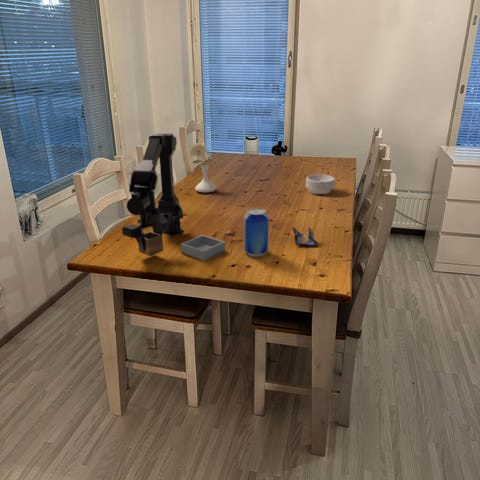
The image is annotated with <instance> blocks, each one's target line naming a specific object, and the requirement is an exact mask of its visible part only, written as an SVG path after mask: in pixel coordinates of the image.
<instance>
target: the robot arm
mask: <svg viewBox="0 0 480 480" xmlns="http://www.w3.org/2000/svg"><path fill="white" fill-rule="evenodd" d="M177 143H178V141H177V137H176V136H174V134H173V133H152V134H150V135H149V136H148V144H147V146H146V150H145V152H144V155H143V158H142V160H141V162H140V163H137V165H136V166H135V168H134V169H133V172H132V173H131V177H130V182H129V183H130V184H129V190H128V192H129V193H132V194H131V198H129V199H128V201H127V202H126V210H127V211H128V212H129V214H131V215H133V216H139V218H138V219H137V223H138V224H139V225H136V224H134V223H130V224H127V225H125V226H122V227H121V233H122V236H126V237H129V238H130V239H131V238H132V239H135V240H136V242H137V245H138V244H139V245H140V247H141V249H142V250H143V251H145V236H146V234H145V231H144V230H146V229H150V228H152V232H155V233H158V234H161V235H162V236H163V234H166V235H170V236H174V235H176V234H179V233H182V232H184V229H182V228H181V221H180V220H182V219H184V210H183V208H182V206H181V205H180V200H179V198H178V196H177V195H176V194H175V186H174V185H175V184H174V170H173V168H174V167H173V155H174V153H175V152H176V146H177ZM158 162H159V167H160V168H159V169H160V182H161V183H160V184H161V194H162V195H161V196H160V198H159V200H158V206H156V194H155V193H156V192H155V190H156V188H157V183H158V173H157V171H156V167H157V165H158Z"/></svg>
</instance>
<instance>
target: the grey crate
mask: <svg viewBox="0 0 480 480" xmlns="http://www.w3.org/2000/svg"><path fill="white" fill-rule="evenodd" d="M225 251H226V241H224V240H220V239H217V238H214V237H211V236H208V235H205V234H201V235H198V236H196V237H194V238H192V239H189V240H187V241H184V242H181V243H180V253H181V254H184V255H186V256H189V257H192V258H193V259H194V258H195V259H197V260H201V261H203V262H205V261H206V260H209V259H211V258H214V257H215V256H217V255H219V254H221V253H223V252H225Z"/></svg>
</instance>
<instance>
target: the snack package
mask: <svg viewBox="0 0 480 480" xmlns="http://www.w3.org/2000/svg"><path fill="white" fill-rule="evenodd" d="M292 231H293V234H294V242H295V245H296V246H297V245H304V246H305V247H307V248H312V247H318V246H319V245H318V244H319V243H318V241H316V240H315V233H314V230H313V229H312V228H311V227H308V228H307V231H308V236H306V235H305V234H304V233H300V231H298V230H297V229H296V228H295V226H293V229H292ZM304 237H305V238H306V239H305V242H304V241H303V239H304Z"/></svg>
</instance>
